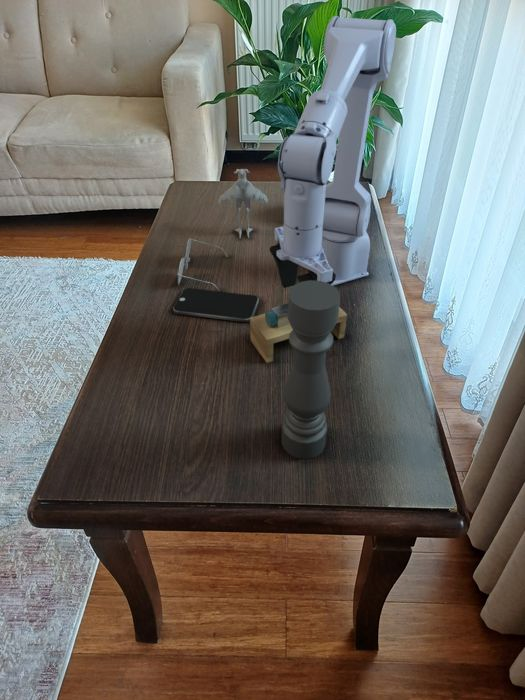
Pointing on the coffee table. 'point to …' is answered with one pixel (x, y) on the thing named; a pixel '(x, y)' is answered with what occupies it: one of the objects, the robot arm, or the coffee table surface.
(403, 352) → the coffee table surface
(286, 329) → the shelf
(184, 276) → the sunglasses
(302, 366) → the candle holder
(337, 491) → the coffee table surface
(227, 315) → the smartphone
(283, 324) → the grey and teal bar
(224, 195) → the figurine
